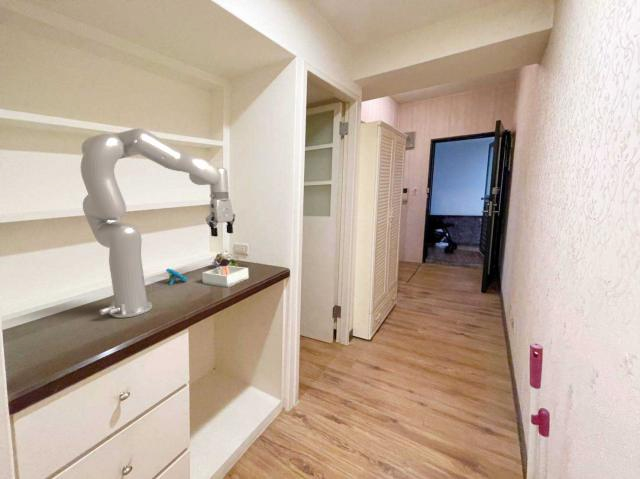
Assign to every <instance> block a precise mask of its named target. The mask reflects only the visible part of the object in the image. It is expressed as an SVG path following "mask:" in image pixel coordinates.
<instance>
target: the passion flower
mask: <svg viewBox="0 0 640 479" xmlns="http://www.w3.org/2000/svg"><path fill="white" fill-rule="evenodd" d="M224 252H226V253H227V254H228V249H226V250H225V251H224ZM220 255H221V253H217V254H216V255H215V257H214V259H213V261H212V262H211V264H212V265H215V266H216V267H215V268H217V267H219V265H220V262H221V260H223V259H222V258H221V256H220ZM232 256H233V253H229V254H228V255H227V260H229V262H230V266H236V267H239V266H238V265H239V264H238V263H237V262H236V261H235V260H234V259H237V261H238V262H240V258H239V257H238V256H237V257H234V258H231V257H232Z"/></svg>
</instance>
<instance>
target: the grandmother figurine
mask: <svg viewBox="0 0 640 479" xmlns="http://www.w3.org/2000/svg"><path fill="white" fill-rule="evenodd" d="M220 254H221V255H220V256H221V258H222V259H223V260H221V262H220V265H219V268H218V269H219V270H221V267H222V271H221V275H229V274H230V273H229V269H228V266H231V265H230V262H229V260H227V255H228V252H227V253H226V252H225V251H223V252H220Z"/></svg>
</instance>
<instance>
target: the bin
mask: <svg viewBox="0 0 640 479" xmlns="http://www.w3.org/2000/svg"><path fill="white" fill-rule="evenodd" d="M216 267H217V266H216ZM216 267H215V268H213V269H209V270H206V271H202V273H201V275H202V276H201V277H202V284H204V285H211V286H217V287H223V288H229V287H232V286H234V285H236V284H238V283H241V282H243V281H246V280H248V279H249V277H250V276H249V267H244V266H243V267H241V266H237V267H236V265H235V266H231V265H230V266H228V269H229V273H230V274H229V275H221V271H222V267H221V270H219V269H218V268H219V267H217V268H216Z"/></svg>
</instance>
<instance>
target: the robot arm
mask: <svg viewBox="0 0 640 479" xmlns="http://www.w3.org/2000/svg"><path fill="white" fill-rule="evenodd" d="M81 153H82V154H83V155H82V158H81V163H80V173H81V178H82V181H83V184H84V186H85V190H86V191H87V195H86V196H85V197H84V198H83V201H82V210H83V213H84V215H85V218H86V220H87V222H88V225H89V227H90V229H91V232H92V234H93V235H94V238H95V239H96V241H97V243H99V244H100V245H101V246H103V247H105V248H109V253H108V254H109V255H108V265H109V272H110V279H111V285H112V291H113V292H112V293H113V298H114V301H112V302H111V304H110V305H109V306H108V307H104V308H101V309H99V313H100V315H101V316H104V315H106V314H109V315H111V317H114V318H121V319H122V318H123V319H125V318H131V317H136V316H140V315H142V314H145V313H147V312H150V310H152V308H153V303H152V302H151V301H148V299H147V291H146V284H145V275H144V269H143V268H144V267H143V260H142V240H143V239H142V235H141V232H140V231H139V229H138V228H137V227H136V226H135V225H134V224H131V223H127V222H122V220H121V218H122V217H124V216H125V214H126V213H127V206H126V202H125V199H124V198H123V195H122V193H121V190H120V187H119V184H118V182H117V181H118V180H117V179H116V174H115V168H116V164H117V162H118V161H119V160H121V159H125V158H128V157H132V156H136V155H140V156H142V157H143V158H146V159H148V160H149V161H151V162H153V163H155V164H158V165H159V166H161V167H163V168H165V169H168V170H172V171H175V172H176V171H177V172H183V173H185V174H186V173H187V174H188V177H189V180H190V182H192V183H193V184H195V185H198V186H209V187H210V195H209V197H210V202H209V215H207V216H206V217H205V221H206V222H207V223H206V224H207V225H208V227H209V228H210V236H211V237H214V238H215V237H218V227H217V225H218V223H220V224H221V223H226V233H227V234H233V233H234V228H233V225H234V222H235V219H236V214H235V213H233V205H232V201H231V199H230V196H229V192H230V191H229V181H228V180H229V176H228V170H227V169H226V168H225V167H217V166H215V164H212V163H211V162H209V161H208V160H206V159H204V158H202V157H200V156H198V155H195V154H194V153H193V154H192V153H190V152H187V151H185V150H183V149H179V148H177V147H175V146H173V145H172V144H170V143H168V141H165V140H163V139H162V138H159V136H157V135H156V134H154V133H151V132H149V131H148V130H147V129H143V128H133V129H129V130H125V131H122V132H121V131H120V132H116V133H112V134H110V133H102V134H97V135H95V136H92V137H88V138H86V139H85V140H84V141H83V142H82V145H81Z"/></svg>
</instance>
